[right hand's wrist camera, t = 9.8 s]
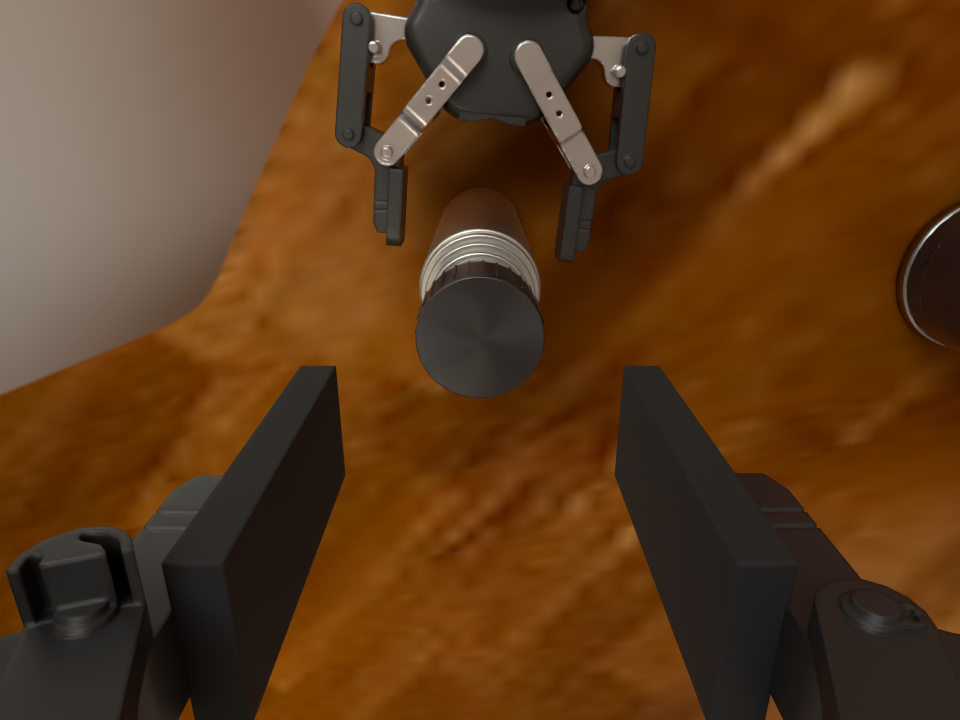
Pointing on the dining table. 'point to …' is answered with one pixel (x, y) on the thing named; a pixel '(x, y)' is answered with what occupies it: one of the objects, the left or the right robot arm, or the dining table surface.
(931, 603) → the dining table surface
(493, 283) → the cap
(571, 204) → the left robot arm
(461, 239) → the bottle
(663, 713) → the dining table surface
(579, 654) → the dining table surface
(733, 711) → the right robot arm
